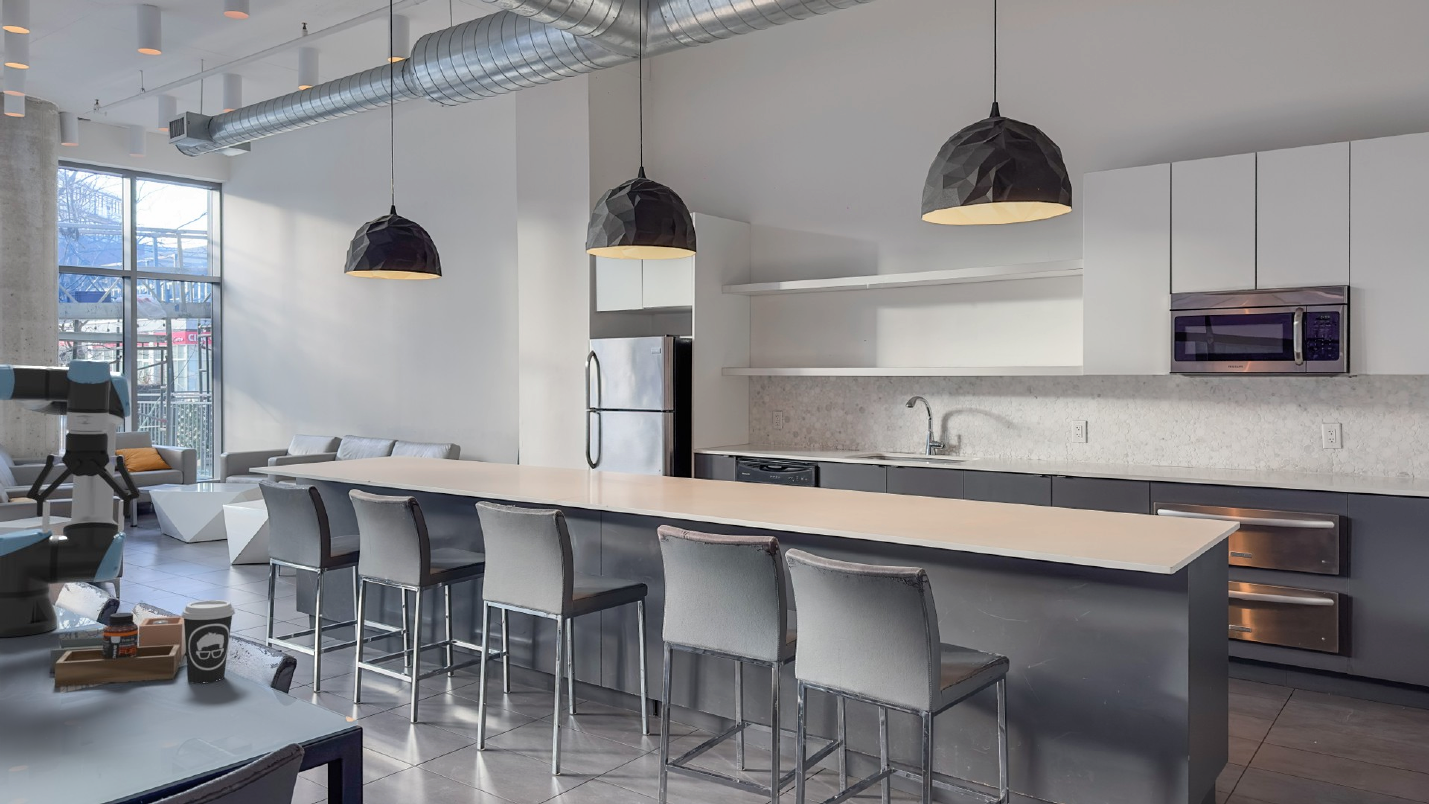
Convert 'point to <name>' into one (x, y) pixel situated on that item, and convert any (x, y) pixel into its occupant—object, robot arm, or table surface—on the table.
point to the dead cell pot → (163, 632)
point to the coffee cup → (207, 639)
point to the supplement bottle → (120, 637)
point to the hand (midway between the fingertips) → (83, 531)
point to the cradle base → (74, 642)
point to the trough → (117, 666)
